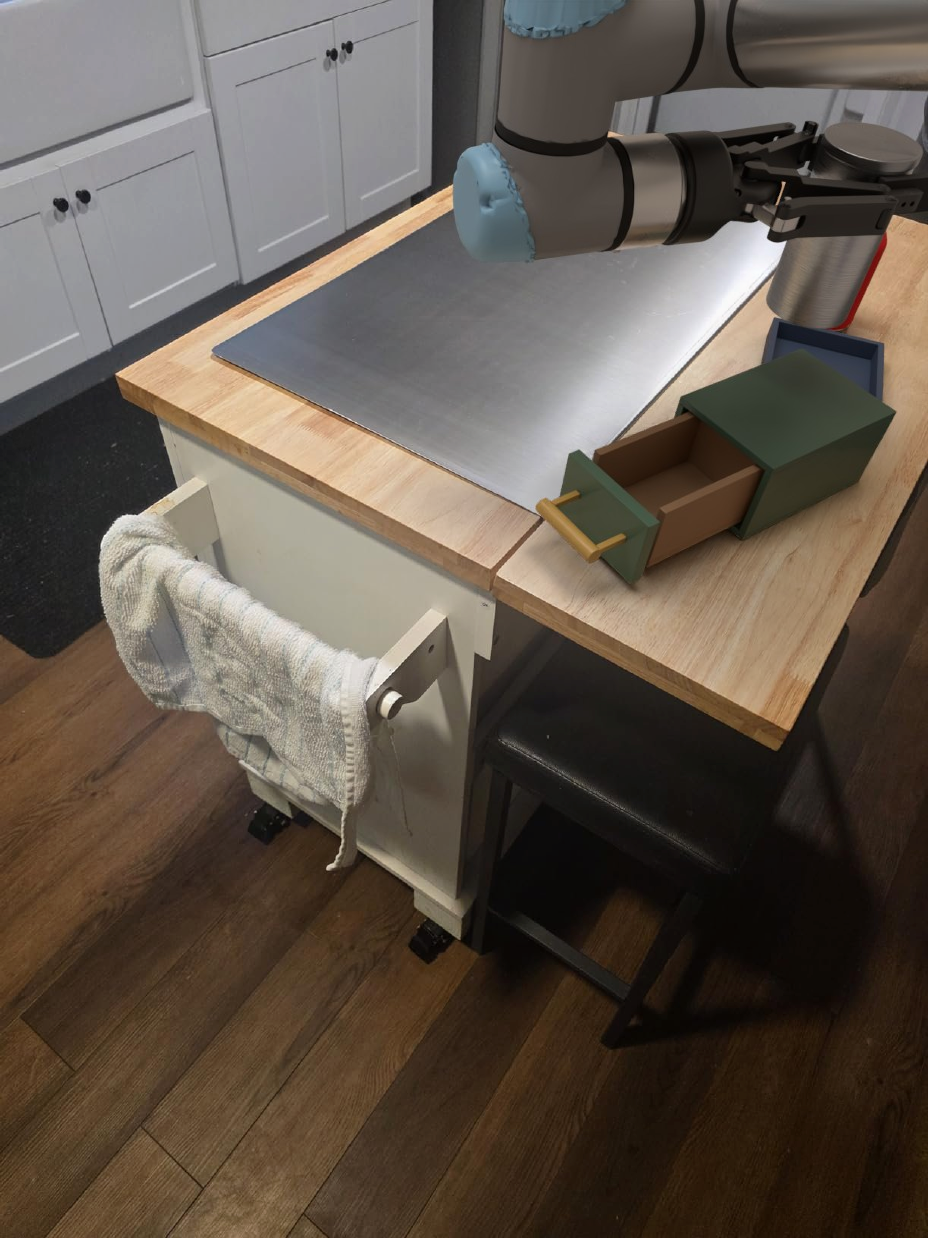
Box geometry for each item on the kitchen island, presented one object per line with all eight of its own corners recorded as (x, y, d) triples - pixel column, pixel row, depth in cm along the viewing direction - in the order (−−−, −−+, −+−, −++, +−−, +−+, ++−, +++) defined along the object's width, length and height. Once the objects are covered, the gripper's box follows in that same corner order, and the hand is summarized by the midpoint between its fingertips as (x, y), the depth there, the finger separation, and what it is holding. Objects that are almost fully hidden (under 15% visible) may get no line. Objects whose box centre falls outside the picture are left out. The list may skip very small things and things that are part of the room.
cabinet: (741, 540, 79) (774, 469, 72) (657, 468, 85) (680, 396, 78) (858, 481, 85) (897, 411, 79) (773, 418, 91) (802, 347, 85)
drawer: (591, 604, 71) (608, 546, 66) (518, 528, 77) (528, 469, 71) (757, 521, 79) (782, 464, 74) (680, 458, 84) (699, 400, 79)
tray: (871, 441, 90) (882, 420, 88) (751, 410, 92) (759, 390, 90) (874, 362, 100) (884, 342, 98) (766, 336, 101) (774, 316, 100)
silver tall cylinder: (865, 316, 78) (943, 151, 67) (810, 338, 75) (882, 169, 64) (802, 277, 81) (865, 115, 71) (746, 297, 78) (804, 130, 68)
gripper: (594, 182, 73) (821, 163, 79) (714, 309, 61) (970, 275, 67) (612, 83, 67) (855, 70, 74) (749, 201, 56) (1025, 175, 62)
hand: (910, 168), depth 70 cm, fingers closed on silver tall cylinder, 7 cm apart
